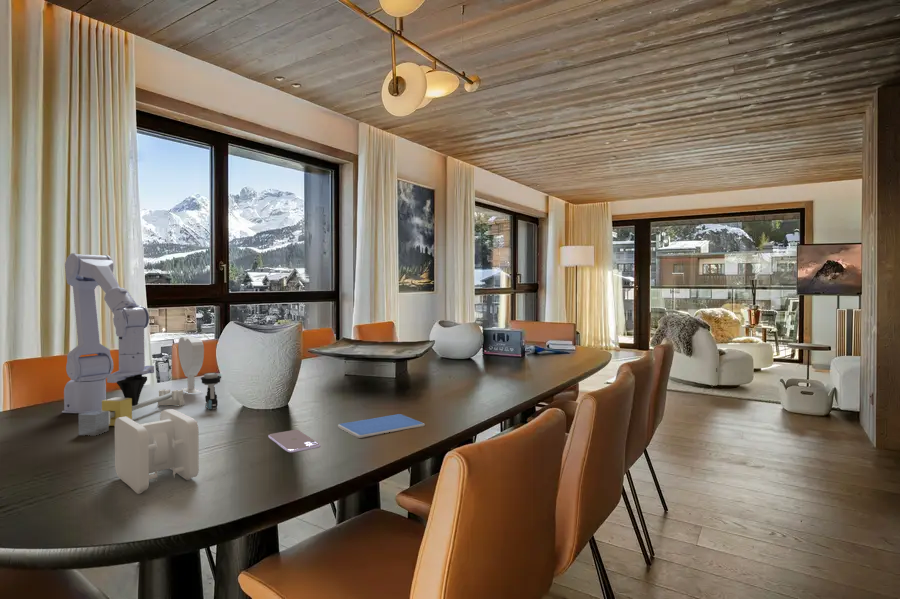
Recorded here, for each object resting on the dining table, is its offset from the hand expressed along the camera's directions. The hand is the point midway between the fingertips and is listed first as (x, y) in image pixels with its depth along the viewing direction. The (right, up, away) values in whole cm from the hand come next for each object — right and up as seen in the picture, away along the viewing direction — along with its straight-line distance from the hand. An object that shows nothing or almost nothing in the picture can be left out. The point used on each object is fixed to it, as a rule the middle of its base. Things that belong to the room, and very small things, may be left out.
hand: (132, 405), depth 133 cm
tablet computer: (+66, -6, -2) cm, 66 cm away
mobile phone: (+47, -6, -15) cm, 50 cm away
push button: (+14, -4, +15) cm, 21 cm away
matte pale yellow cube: (-2, -4, -3) cm, 6 cm away
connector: (-3, -5, -10) cm, 12 cm away
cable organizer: (+28, -6, -38) cm, 48 cm away
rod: (-1, -2, +5) cm, 6 cm away
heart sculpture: (-4, -3, +38) cm, 38 cm away
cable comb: (0, -4, +18) cm, 18 cm away
